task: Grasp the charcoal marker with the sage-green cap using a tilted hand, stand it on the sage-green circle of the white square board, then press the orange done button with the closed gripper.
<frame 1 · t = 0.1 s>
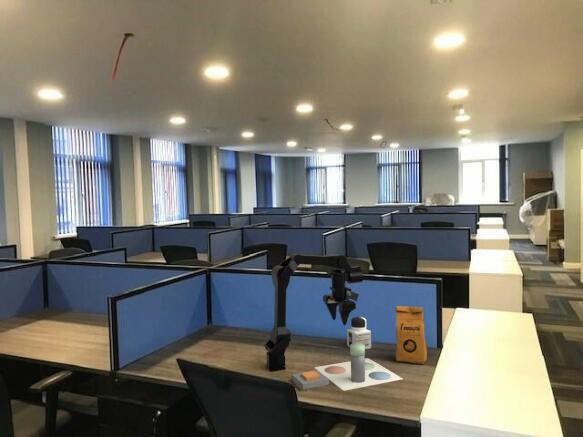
hand: (339, 322, 196), 15 cm above the table, tool pointing down, fingers open, 9 cm apart
white square board: (357, 375, 177), on the table
coffee package: (411, 361, 191), on the table
marker: (358, 380, 170), point 1 cm above the table, touching white square board
button housing: (310, 383, 170), on the table
container: (359, 347, 209), on the table
done button: (310, 377, 170), point 2 cm above the table, slide at 0.0 cm
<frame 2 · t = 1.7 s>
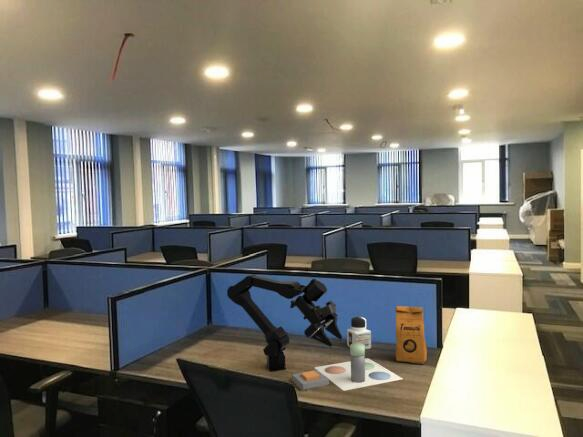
hand: (336, 342, 173), 13 cm above the table, tool tilted 45°, fingers open, 9 cm apart
nothing on the table moved.
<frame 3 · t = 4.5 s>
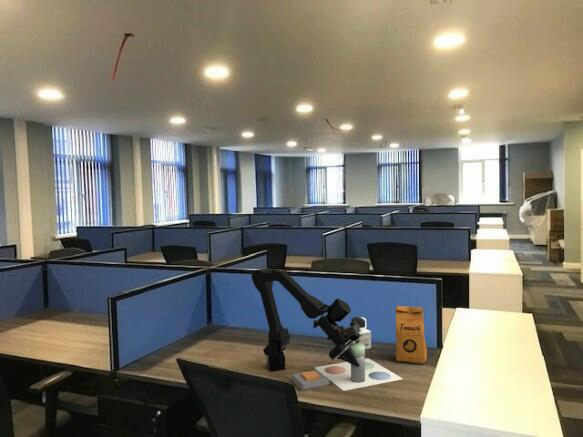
hand: (361, 363, 169), 7 cm above the table, tool tilted 45°, fingers closed on marker, 5 cm apart
marker: (358, 380, 170), point 1 cm above the table, touching gripper, white square board
everything else where it was.
when the fingers open (8 cm above the table, at t = 8.8 s): marker stays where it is, resting on white square board.
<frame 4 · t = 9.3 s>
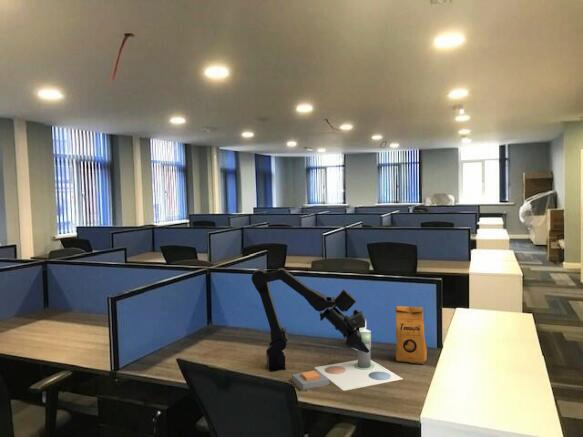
hand: (367, 348, 183), 8 cm above the table, tool tilted 45°, fingers open, 9 cm apart
marker: (364, 365, 184), point 1 cm above the table, touching white square board
everything else where it was.
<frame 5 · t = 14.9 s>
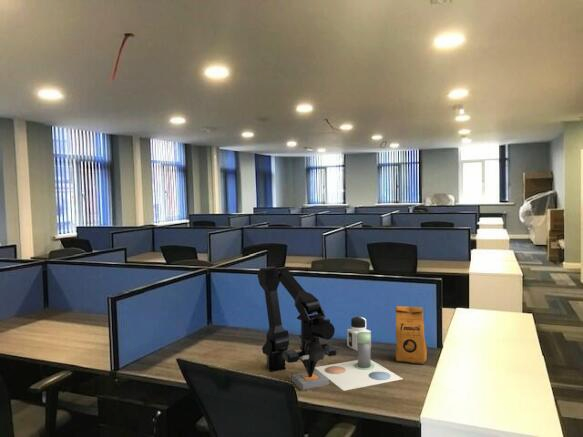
hand: (310, 376, 170), 3 cm above the table, tool pointing down, fingers closed, pressing on done button
done button: (310, 379, 170), point 2 cm above the table, slide at 0.9 cm, touching gripper
everything else where it was.
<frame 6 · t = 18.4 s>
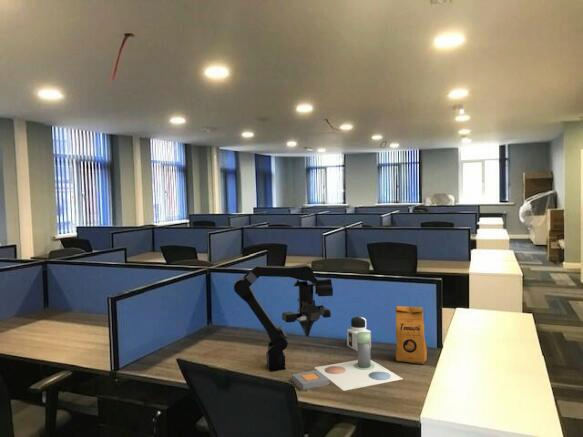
hand: (307, 336, 186), 12 cm above the table, tool pointing down, fingers closed
done button: (310, 379, 170), point 1 cm above the table, slide at 1.0 cm
everything else where it was.
at the end: marker 0.0 cm from the target spot on the white square board, point 0.9 cm above the white square board's base; marker tilted 0°; done button slide at 1.0 cm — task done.
